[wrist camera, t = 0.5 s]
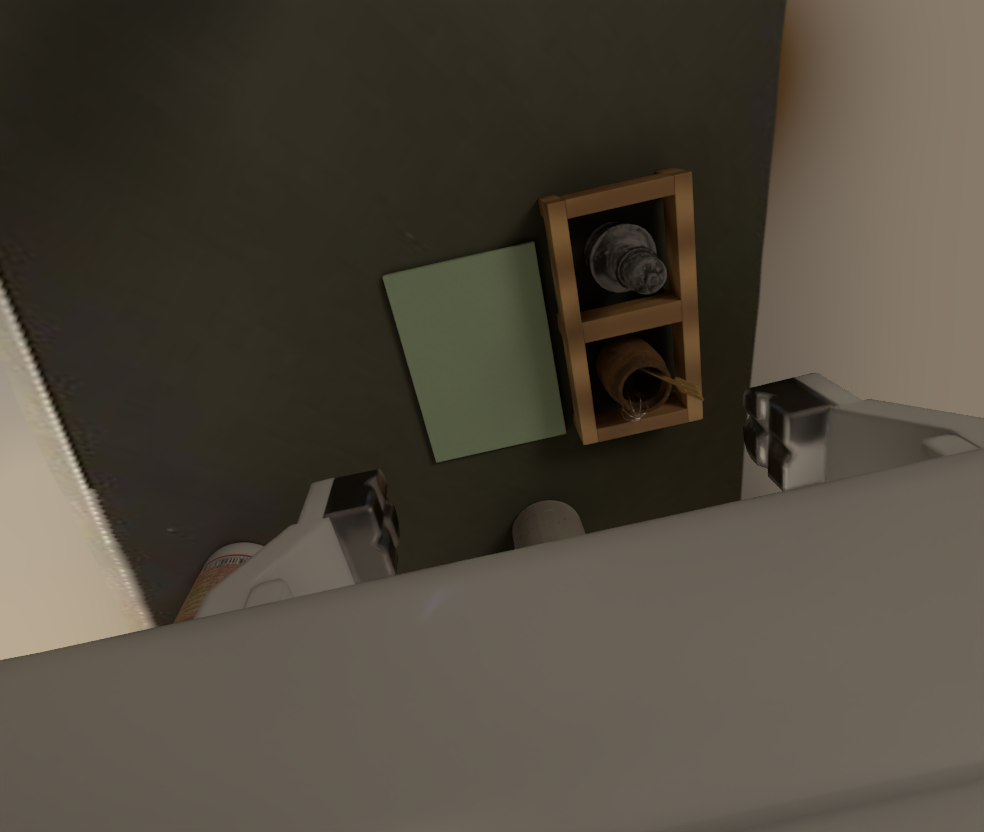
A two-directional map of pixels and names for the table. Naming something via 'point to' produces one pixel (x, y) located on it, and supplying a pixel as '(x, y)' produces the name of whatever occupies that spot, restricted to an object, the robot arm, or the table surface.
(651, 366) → the utensil holder
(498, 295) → the mat
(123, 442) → the table surface
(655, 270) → the dark grey upright figure
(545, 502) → the thermos bottle
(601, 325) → the rack
